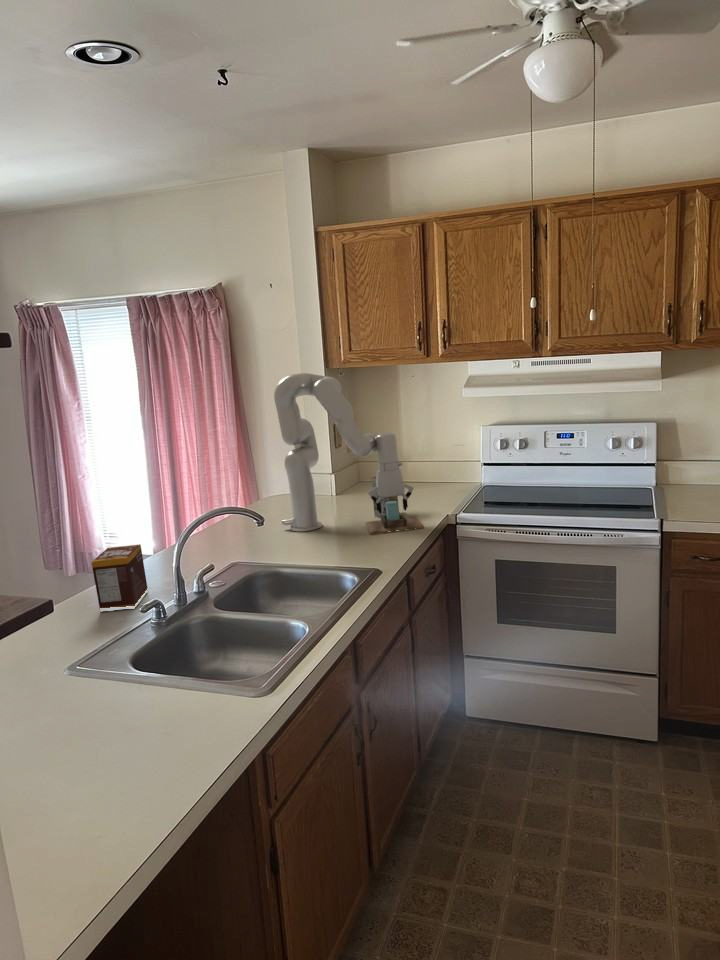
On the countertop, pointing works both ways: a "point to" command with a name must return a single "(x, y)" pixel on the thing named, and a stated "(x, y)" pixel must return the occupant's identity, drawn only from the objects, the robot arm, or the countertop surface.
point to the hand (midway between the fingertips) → (392, 511)
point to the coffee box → (382, 501)
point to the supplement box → (119, 576)
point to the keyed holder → (393, 524)
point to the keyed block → (392, 510)
